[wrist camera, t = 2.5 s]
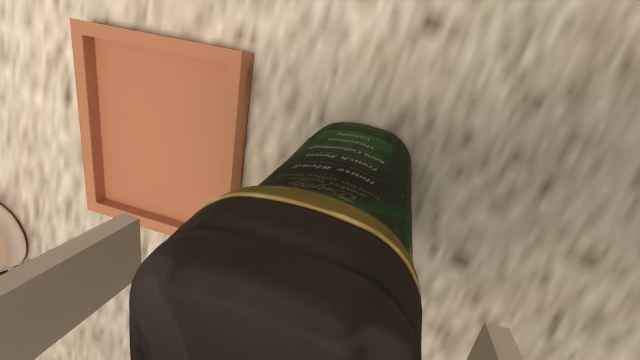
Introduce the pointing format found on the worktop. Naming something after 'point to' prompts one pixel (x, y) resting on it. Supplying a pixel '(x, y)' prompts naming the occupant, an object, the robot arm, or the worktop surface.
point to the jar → (10, 240)
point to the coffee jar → (292, 263)
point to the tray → (158, 122)
